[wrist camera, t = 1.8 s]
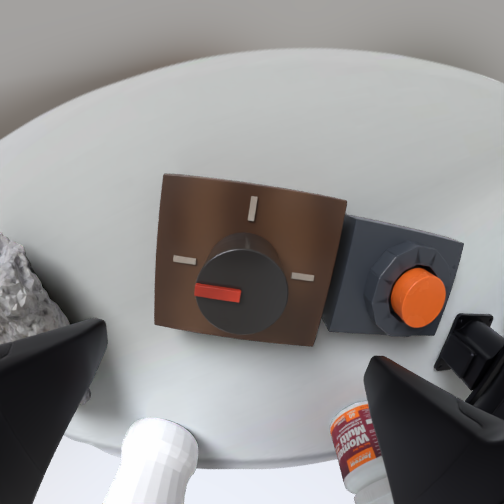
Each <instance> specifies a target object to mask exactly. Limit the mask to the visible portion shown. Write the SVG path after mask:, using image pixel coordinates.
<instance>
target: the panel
mask: <svg viewBox="0 0 504 504" xmlns="http://www.w3.org/2000/svg"><path fill="white" fill-rule="evenodd" d="M346 206H347V201H346V200H342V199H338V198H334V197H329V196H324V195H319V194H314V193H308V192H303V191H297V190H292V189H286V188H280V187H273V186H267V185H261V184H254V183H247V182H240V181H233V180H225V179H217V178H209V177H200V176H191V175H181V174H164V175H163V182H162V191H161V200H160V210H159V222H158V234H157V250H156V269H155V308H154V324H155V325H158V326H163V327H168V328H174V329H179V330H185V331H190V332H196V333H202V334H208V335H215V336H221V337H228V338H236V339H243V340H251V341H259V342H268V343H278V344H288V345H299V346H313V345H314V342H315V338H316V335H317V331H318V328H319V324H320V320H321V317H322V313H323V309H324V305H325V302H326V298H327V294H328V290H329V286H330V282H331V278H332V273H333V269H334V265H335V260H336V256H337V251H338V247H339V242H340V237H341V232H342V227H343V222H344V217H345V212H346ZM243 232H245V233H252V234H256V235H259V236H261V237H263V238H264V239H266V240H267V241H268V242H269V243H270V244H271V245H272V246H273V247H274V248H275V250H276V251H277V254H278V256H279V259H280V262H281V265H282V268H283V271H284V274H285V277H286V280H287V283H288V301H287V305H286V307H285V309H284V311H283V313H282V315H281V316H280V317H279V319H278V320H277V321H276V322H275V323H274V324H272V325H271V326H270V327H268V328H266V329H265V330H262V331H260V332H257V333H253V334H247V335H239V334H232V333H228V332H225V331H222V330H220V329H218V328H217V327H215V326H214V325H212V324H211V323H210V322H209V321H208V320H207V319H206V318H205V317H204V316H203V314H202V313H201V311H200V309H199V307H198V305H197V301H196V297H195V296H194V292H195V285H196V280H197V277H198V275H199V272H200V270H201V269H202V267H203V265H204V263H205V261H206V260H207V258H208V256H209V254H210V252H211V250H212V249H213V248H214V246H215V245H216V244H217V243H218V242H219V241H220V240H222V239H223V238H225V237H227V236H229V235H231V234H235V233H243Z"/></svg>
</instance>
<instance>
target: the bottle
mask: <svg viewBox="0 0 504 504" xmlns="http://www.w3.org/2000/svg"><path fill="white" fill-rule="evenodd" d="M121 452H122V460H121V465H120V467H119V470H118V472H117V474H116V477H115V478H114V480H113V483H112V485H111V487H110V489H109V491H108V493H107V495H106V497H105V500H104V502H103V504H184V498H185V491H186V486H187V483H188V481H189V479H190V477H191V476H192V475H193V474H194V472H195V470H196V466H197V460H198V445H197V442H196V440H195V438H194V437H193V435H192V434H191V433H190V432H189V431H188V430H186V429H185V428H184V427H182V426H180V425H178V424H176V423H174V422H171V421H169V420H165V419H161V418H153V417H149V418H143V419H140V420H138V421H136V422H135V423H133V424H132V425H131V427H130V428H129V429H128V431H127V433H126V435H125V438H124V440H123V443H122V448H121Z"/></svg>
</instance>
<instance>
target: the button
mask: <svg viewBox="0 0 504 504" xmlns="http://www.w3.org/2000/svg"><path fill="white" fill-rule="evenodd" d="M445 297H446V291H445V286H444V284H443V282H442V281H441V280H440V279H439V278H438V277H436V276H435V275H433V274H431V273H430V272H428V271H426V270H425V269H422V268H414V269H411V270H408V271H407V272H405V273H404V274H403V275H401V276H400V278H399V279H398V280H397V282H396V283H395V285H394V287H393V290H392V293H391V305H392V308H393V310H394V312H395V313H396V314H397V315H398V316H399V317H400V318H401V319H402V320H403V321H404V322H405V323H406V324H407V325H408V326H410V327H414V328H419V327H423V326H426V325H428V324H429V323H431V322H432V321H433V320H434V319H435V318H436V317H437V316H438V314H439V313H440V311H441V310H442V308H443V305H444V302H445Z"/></svg>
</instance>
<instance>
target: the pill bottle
mask: <svg viewBox="0 0 504 504" xmlns="http://www.w3.org/2000/svg"><path fill="white" fill-rule="evenodd" d="M330 432H331V436H332V440H333V443H334V447H335V451H336V454H337V458H338V462H339V466H340V470H341V473H342V478H343V482H344V484H345V487H346V489H347V490H348V491H349V492H351V493H353V494H356V495H355V497H354V501H355V504H394V502H393V498H392V494H391V490H390V485H389V481H388V477H387V473H386V470H385V466H384V462H383V458H382V455H381V451H380V447H379V444H378V440H377V437H376V433H375V430H374V427H373V423H372V420H371V416H370V411H369V406H368V401H363V402H358V403H355V404H353V405H350V406H348V407H347V408H345V409H343V410H342V411H341V412H339V413H338V414H337V415H336V416H335V417H334V419H333V420H332V422H331V425H330Z"/></svg>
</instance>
